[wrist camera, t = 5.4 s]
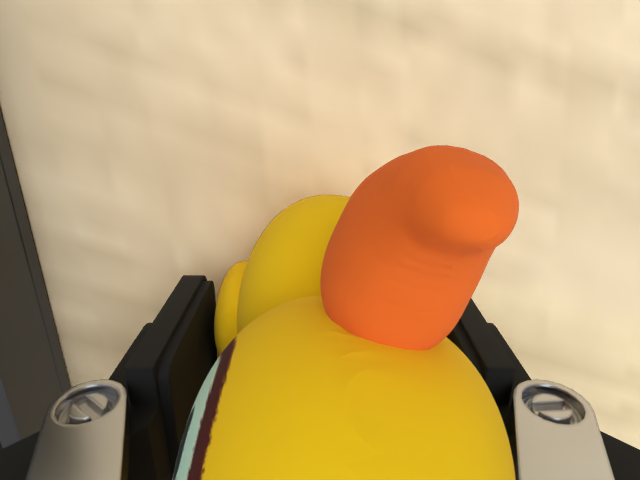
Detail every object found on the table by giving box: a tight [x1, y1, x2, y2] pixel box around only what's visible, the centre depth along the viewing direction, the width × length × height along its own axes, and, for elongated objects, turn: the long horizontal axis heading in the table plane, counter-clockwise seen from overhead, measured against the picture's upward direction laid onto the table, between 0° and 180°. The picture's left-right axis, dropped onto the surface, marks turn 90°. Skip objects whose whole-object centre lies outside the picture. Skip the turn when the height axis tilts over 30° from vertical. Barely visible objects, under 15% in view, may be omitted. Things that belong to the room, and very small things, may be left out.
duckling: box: [172, 146, 519, 480], centre depth 9 cm, size 11×5×10 cm, turn 166°
